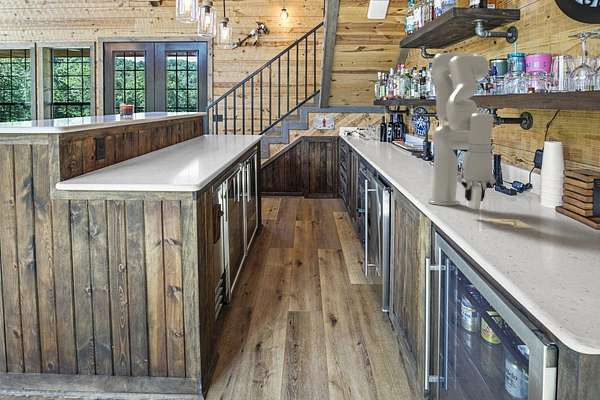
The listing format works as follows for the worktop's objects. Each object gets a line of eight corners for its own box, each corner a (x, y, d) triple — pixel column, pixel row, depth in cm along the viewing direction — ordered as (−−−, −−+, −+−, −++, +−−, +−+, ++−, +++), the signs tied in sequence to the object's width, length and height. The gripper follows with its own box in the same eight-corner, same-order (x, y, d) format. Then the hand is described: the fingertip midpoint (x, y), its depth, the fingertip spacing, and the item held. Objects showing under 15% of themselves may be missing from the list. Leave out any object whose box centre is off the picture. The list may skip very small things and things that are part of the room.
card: (486, 219, 212) (486, 218, 212) (517, 220, 212) (517, 219, 212) (499, 227, 198) (500, 226, 198) (533, 228, 198) (533, 227, 198)
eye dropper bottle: (467, 208, 210) (470, 175, 208) (466, 205, 216) (469, 172, 213) (480, 209, 209) (483, 176, 207) (478, 206, 215) (481, 173, 212)
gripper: (499, 148, 212) (494, 198, 216) (452, 146, 212) (448, 197, 215) (506, 151, 204) (501, 203, 208) (457, 149, 204) (453, 201, 208)
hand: (474, 199), depth 212 cm, fingers closed on eye dropper bottle, 3 cm apart
